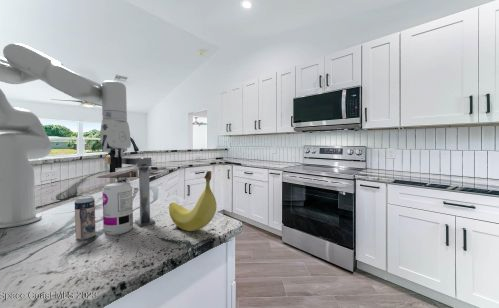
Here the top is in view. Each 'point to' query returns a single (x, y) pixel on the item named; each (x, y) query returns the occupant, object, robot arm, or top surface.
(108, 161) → the swing arm
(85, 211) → the beer can
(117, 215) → the supplement can
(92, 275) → the top surface
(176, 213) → the banana
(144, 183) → the post
